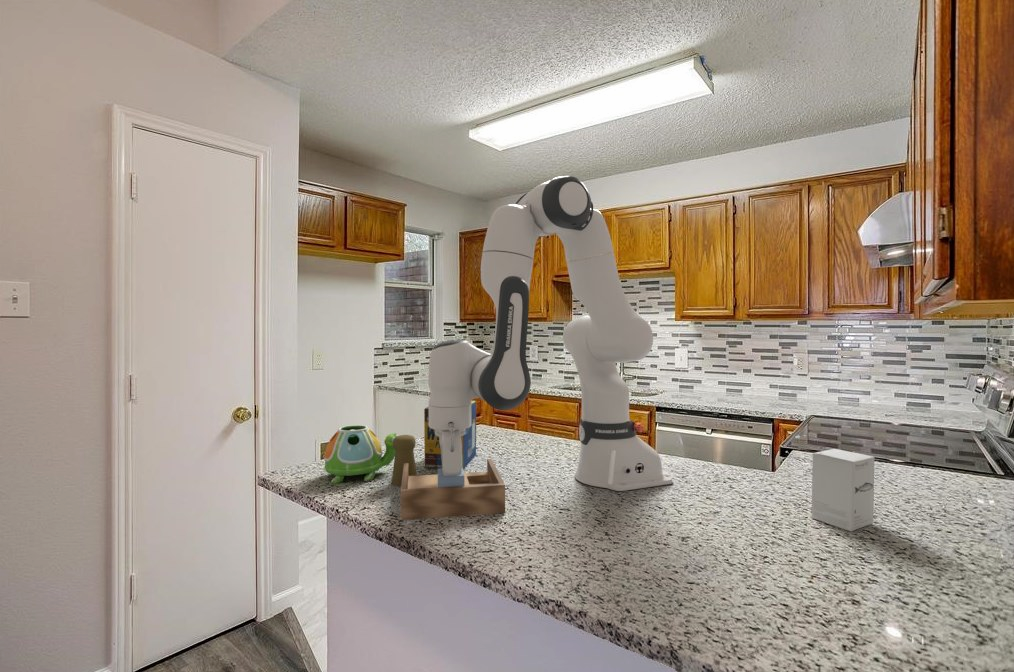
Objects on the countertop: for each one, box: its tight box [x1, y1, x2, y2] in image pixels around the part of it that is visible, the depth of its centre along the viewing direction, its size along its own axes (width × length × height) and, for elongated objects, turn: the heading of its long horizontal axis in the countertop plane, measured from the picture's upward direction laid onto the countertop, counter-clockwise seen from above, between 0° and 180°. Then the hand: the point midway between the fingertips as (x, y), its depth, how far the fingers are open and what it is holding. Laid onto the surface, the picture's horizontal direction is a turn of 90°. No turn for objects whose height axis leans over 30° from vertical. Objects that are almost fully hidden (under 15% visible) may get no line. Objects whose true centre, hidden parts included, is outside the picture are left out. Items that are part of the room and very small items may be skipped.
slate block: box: [437, 468, 465, 487], centre depth 98 cm, size 5×5×5 cm
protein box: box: [423, 400, 477, 470], centre depth 133 cm, size 10×15×16 cm
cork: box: [391, 434, 418, 488], centre depth 115 cm, size 6×6×11 cm
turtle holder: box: [323, 424, 399, 484], centre depth 121 cm, size 12×18×12 cm
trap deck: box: [400, 458, 506, 521], centre depth 104 cm, size 20×19×6 cm
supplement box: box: [811, 448, 875, 532], centre depth 91 cm, size 7×7×13 cm
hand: (450, 484), depth 102 cm, fingers closed
